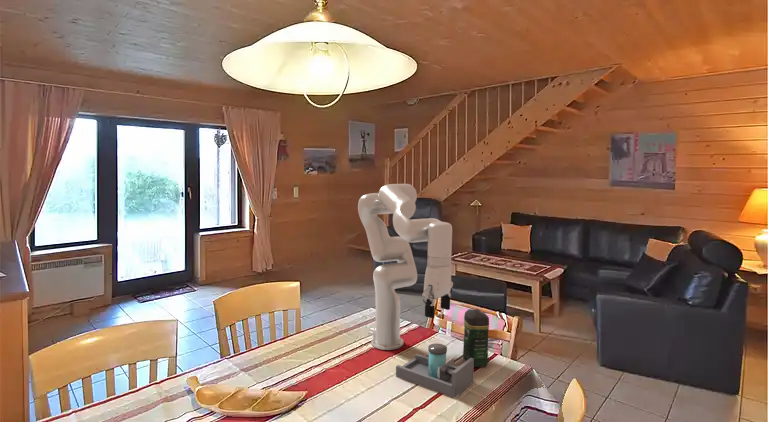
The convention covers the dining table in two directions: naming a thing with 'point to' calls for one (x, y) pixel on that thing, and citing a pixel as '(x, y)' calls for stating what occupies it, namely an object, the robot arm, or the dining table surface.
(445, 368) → the pusher plate
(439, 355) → the spice jar
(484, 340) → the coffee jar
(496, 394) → the dining table surface
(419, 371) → the grey divided tray
